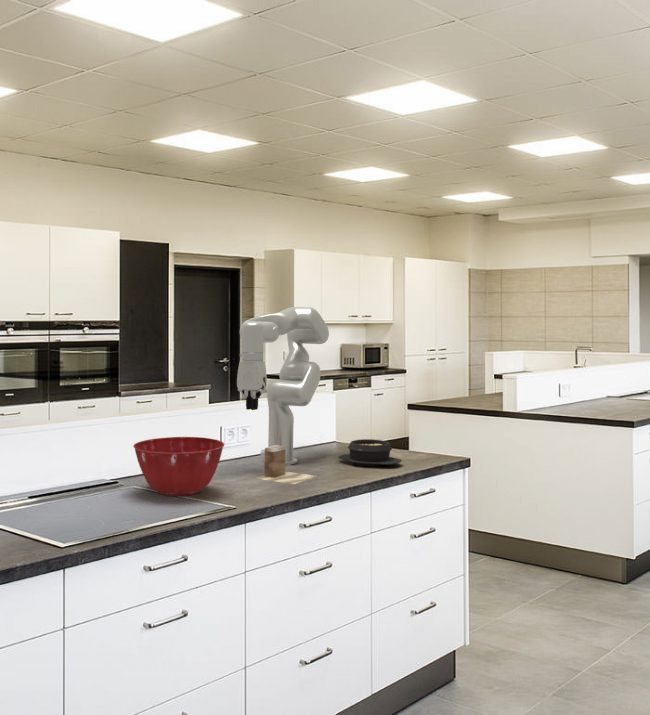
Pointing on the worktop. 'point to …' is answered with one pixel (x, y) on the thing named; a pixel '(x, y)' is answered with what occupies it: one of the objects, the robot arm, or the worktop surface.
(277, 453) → the walnut block
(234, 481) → the worktop surface
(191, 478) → the mixing bowl
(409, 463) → the worktop surface
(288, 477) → the oak board
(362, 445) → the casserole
